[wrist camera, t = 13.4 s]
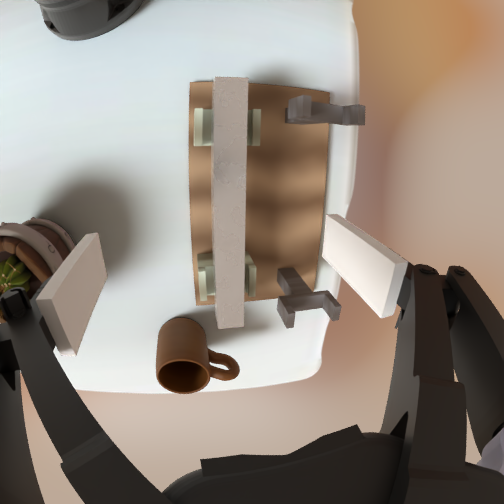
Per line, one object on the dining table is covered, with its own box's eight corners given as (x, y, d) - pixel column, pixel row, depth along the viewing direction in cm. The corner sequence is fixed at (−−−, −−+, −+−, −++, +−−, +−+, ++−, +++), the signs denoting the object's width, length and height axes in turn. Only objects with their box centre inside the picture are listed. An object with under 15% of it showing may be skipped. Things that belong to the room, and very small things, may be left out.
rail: (212, 83, 25) (215, 76, 23) (242, 83, 26) (248, 77, 23) (215, 314, 36) (218, 329, 33) (239, 312, 37) (244, 326, 34)
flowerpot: (85, 199, 31) (2, 262, 13) (99, 300, 37) (60, 405, 19) (6, 205, 28) (-83, 261, 10) (25, 297, 34) (-30, 381, 16)
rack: (189, 83, 29) (190, 56, 18) (326, 93, 33) (378, 81, 22) (195, 301, 41) (201, 357, 30) (310, 291, 44) (345, 336, 33)
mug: (236, 320, 43) (248, 361, 35) (227, 355, 46) (237, 396, 38) (159, 312, 40) (155, 355, 32) (157, 349, 43) (154, 392, 34)
